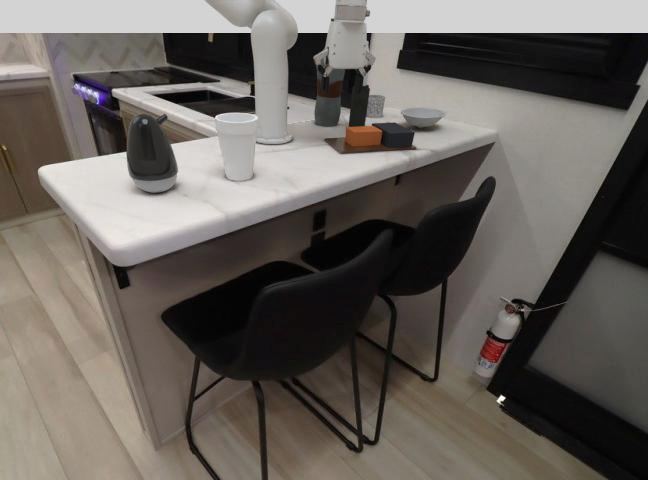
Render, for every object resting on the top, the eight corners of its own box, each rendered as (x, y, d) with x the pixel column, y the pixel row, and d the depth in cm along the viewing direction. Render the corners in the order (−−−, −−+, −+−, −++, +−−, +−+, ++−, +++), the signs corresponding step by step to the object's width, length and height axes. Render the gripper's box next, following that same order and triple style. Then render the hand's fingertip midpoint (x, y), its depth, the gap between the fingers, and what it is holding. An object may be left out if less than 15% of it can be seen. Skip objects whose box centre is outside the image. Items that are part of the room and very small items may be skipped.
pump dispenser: (190, 188, 84) (180, 113, 75) (149, 201, 78) (132, 122, 68) (164, 176, 89) (152, 105, 80) (123, 188, 83) (105, 112, 74)
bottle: (308, 122, 135) (313, 17, 116) (327, 119, 139) (335, 18, 121) (325, 128, 129) (334, 19, 110) (345, 124, 133) (356, 19, 115)
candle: (364, 132, 126) (377, 41, 111) (349, 131, 126) (360, 41, 111) (362, 128, 130) (374, 40, 115) (347, 127, 130) (357, 40, 115)
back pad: (387, 147, 111) (390, 133, 108) (370, 136, 120) (372, 123, 117) (411, 146, 112) (415, 132, 110) (392, 135, 121) (395, 122, 119)
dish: (425, 136, 124) (429, 119, 121) (388, 127, 132) (391, 112, 129) (450, 127, 134) (454, 112, 131) (414, 120, 142) (417, 105, 139)
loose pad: (352, 146, 110) (354, 132, 108) (344, 141, 115) (346, 126, 113) (380, 145, 112) (382, 130, 110) (371, 139, 117) (373, 125, 115)
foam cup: (222, 184, 86) (217, 123, 78) (217, 170, 93) (212, 113, 85) (263, 181, 88) (262, 121, 80) (254, 168, 95) (253, 112, 87)
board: (341, 153, 107) (341, 151, 106) (324, 140, 117) (324, 138, 117) (416, 149, 112) (416, 147, 112) (393, 136, 123) (394, 134, 122)
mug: (375, 113, 150) (378, 94, 146) (385, 116, 145) (388, 97, 141) (354, 114, 147) (356, 95, 142) (363, 118, 142) (365, 98, 138)
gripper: (374, 15, 98) (363, 90, 109) (311, 13, 94) (307, 90, 104) (388, 17, 92) (375, 95, 103) (322, 14, 88) (316, 96, 99)
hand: (341, 92), depth 104 cm, fingers open, 9 cm apart
